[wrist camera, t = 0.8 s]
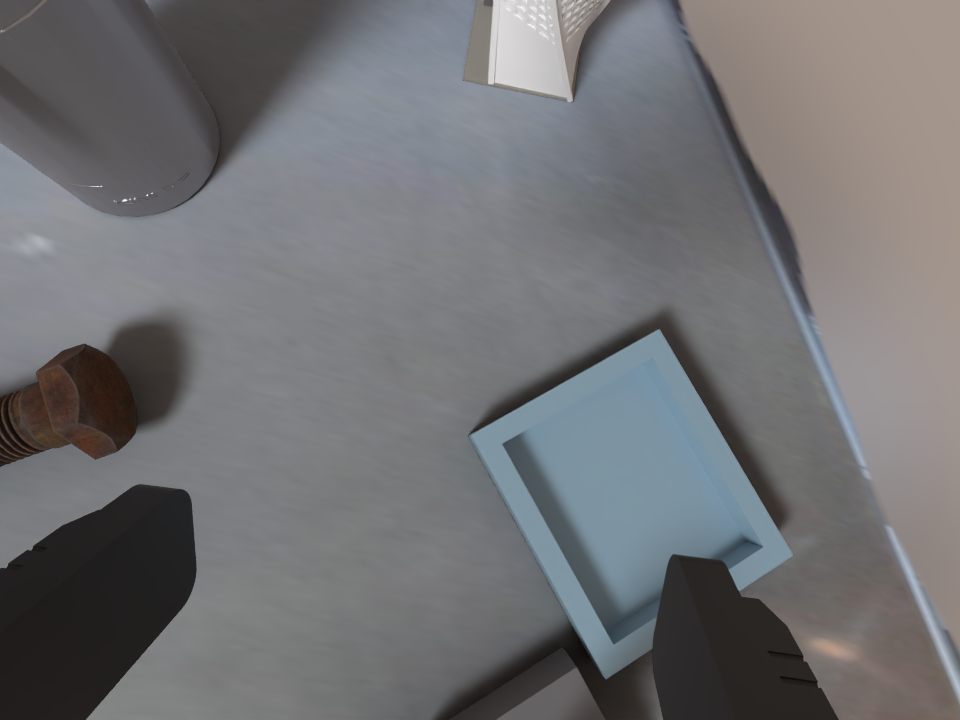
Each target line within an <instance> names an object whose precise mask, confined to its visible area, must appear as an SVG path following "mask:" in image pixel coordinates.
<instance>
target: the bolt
mask: <svg viewBox="0 0 960 720" xmlns="http://www.w3.org/2000/svg"><path fill="white" fill-rule="evenodd" d="M36 375H37V378H38V382H37V383H35V384H32V385H29V386H27V387H26V388H25V389H23V390H21V391H17V392H15V393H11V394H9V395H5V396H3V397H1V398H0V467H1V466H3V465H5V464H10V463H11V462H15V461H17V460H20V459H24V458H25V457H29V456H31V455H33V454H38V453H39V452H43V451H45V450H49V449H51V448H60V447H62V446H65V445H68V444H73V445H74V446H76V447H77V448H79V449H80V450H82V451H83V452H85V453H86V454H88V455H89V456H91V457H92V458H94V459H95V460H96V459H99V458H101V457H104V456H107V455H110V454H112V453H115V452H118V451H119V450H120V449H121V448H122V447H123V446H125V445H126V444H127V443H128V442H129V441H130V440H131V439H132V437H133V436H134V435H135V433H136V427H137V410H136V406H135V403H134V400H133V396H132V393H131V389H130V387H129V385H128V383H127V381H126V379H125V377H124V376H123V374H122V373H121V371H120V370H119V368H118V367H117V365H116V364H115V362H114V361H113V360H112V359H111V358H110V357H109V356H108V355H106V354H105V353H103V352H101V351H99V350H98V349H96V348H93V347H91V346H89V345H86V344H81V345H78V346H75V347H72V348H69V349H66V350H63V351H62V352H60V353H59V354H58V355H57V356H55V357H54V358H53V359H52V360H50V361H49V362H48V363H47V364H45V365H44V366H43V367H42V368H40V369H39V370H38V371H37V372H36Z"/></svg>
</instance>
